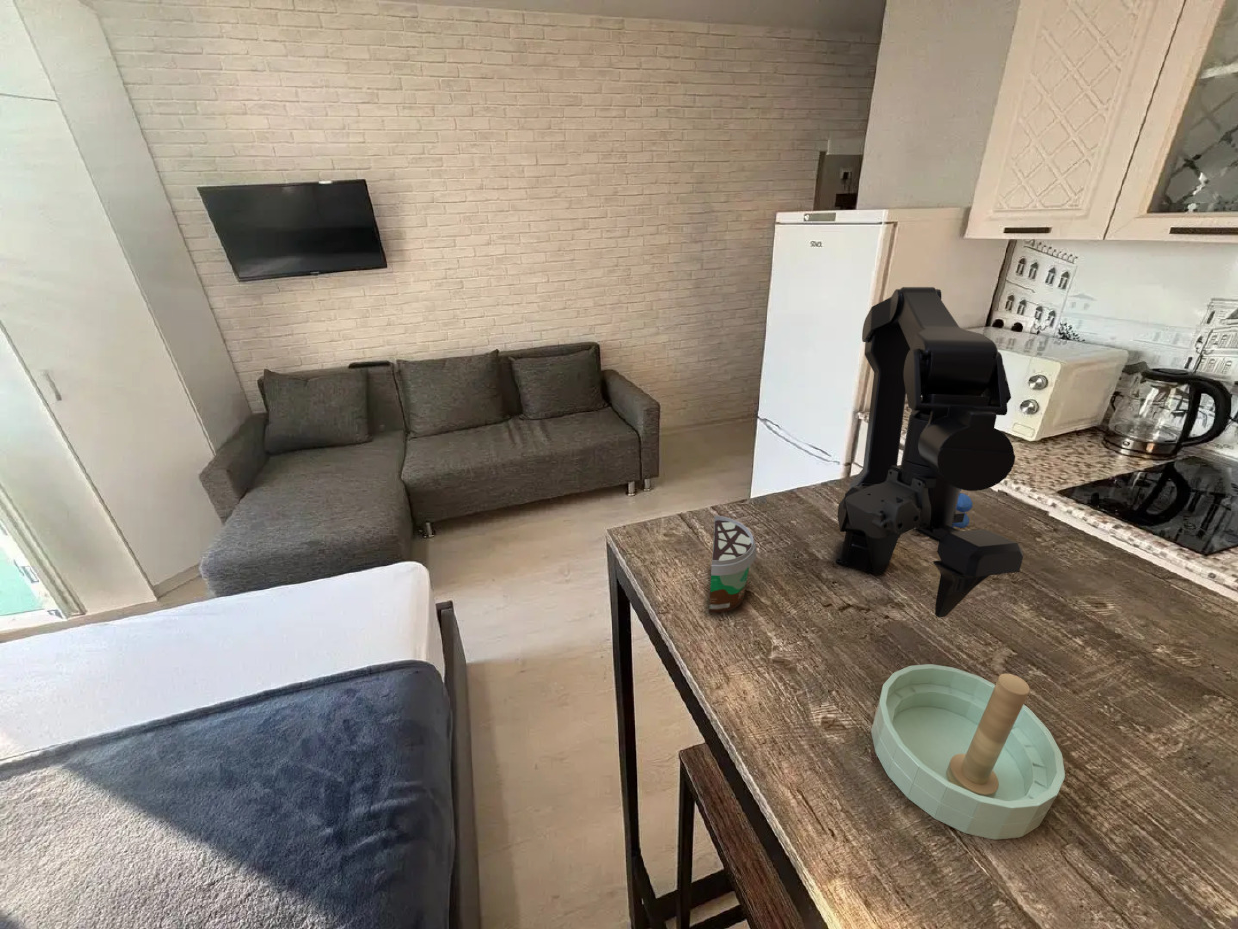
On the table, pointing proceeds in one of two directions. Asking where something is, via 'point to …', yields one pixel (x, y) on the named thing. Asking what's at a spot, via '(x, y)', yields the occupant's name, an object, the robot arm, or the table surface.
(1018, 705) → the pestle
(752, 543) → the food container
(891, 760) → the bowl
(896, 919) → the table surface
